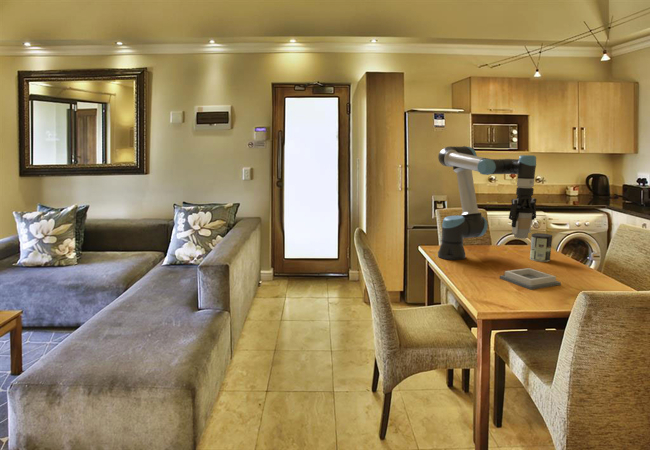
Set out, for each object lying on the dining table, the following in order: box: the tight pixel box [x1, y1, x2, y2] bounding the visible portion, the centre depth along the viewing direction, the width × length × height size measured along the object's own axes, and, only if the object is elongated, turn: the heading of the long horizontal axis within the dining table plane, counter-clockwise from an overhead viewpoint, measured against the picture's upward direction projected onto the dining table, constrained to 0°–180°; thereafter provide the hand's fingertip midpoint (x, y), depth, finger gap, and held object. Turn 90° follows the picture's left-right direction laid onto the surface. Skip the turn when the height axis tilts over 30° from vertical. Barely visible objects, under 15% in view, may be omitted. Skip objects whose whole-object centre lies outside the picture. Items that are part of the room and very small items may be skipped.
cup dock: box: [499, 267, 562, 291], centre depth 189 cm, size 18×18×4 cm
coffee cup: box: [513, 207, 534, 240], centre depth 202 cm, size 9×9×15 cm
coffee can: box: [529, 232, 553, 263], centre depth 227 cm, size 10×10×14 cm
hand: (521, 232), depth 203 cm, fingers closed on coffee cup, 8 cm apart
